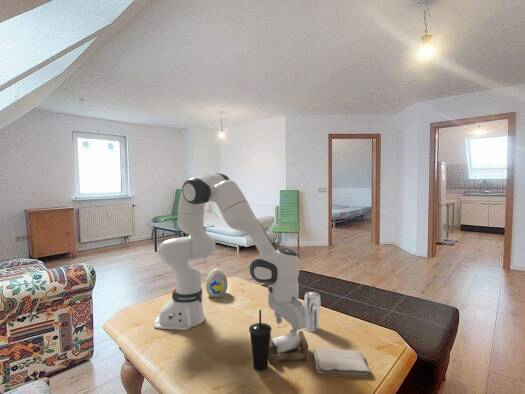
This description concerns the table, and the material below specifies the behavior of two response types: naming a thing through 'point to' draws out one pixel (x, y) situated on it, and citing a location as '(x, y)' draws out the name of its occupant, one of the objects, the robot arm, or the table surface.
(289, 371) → the table surface
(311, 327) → the silver tumbler
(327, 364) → the washcloth
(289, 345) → the roll
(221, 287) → the decorative egg
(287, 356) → the cradle
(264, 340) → the drinking cup
